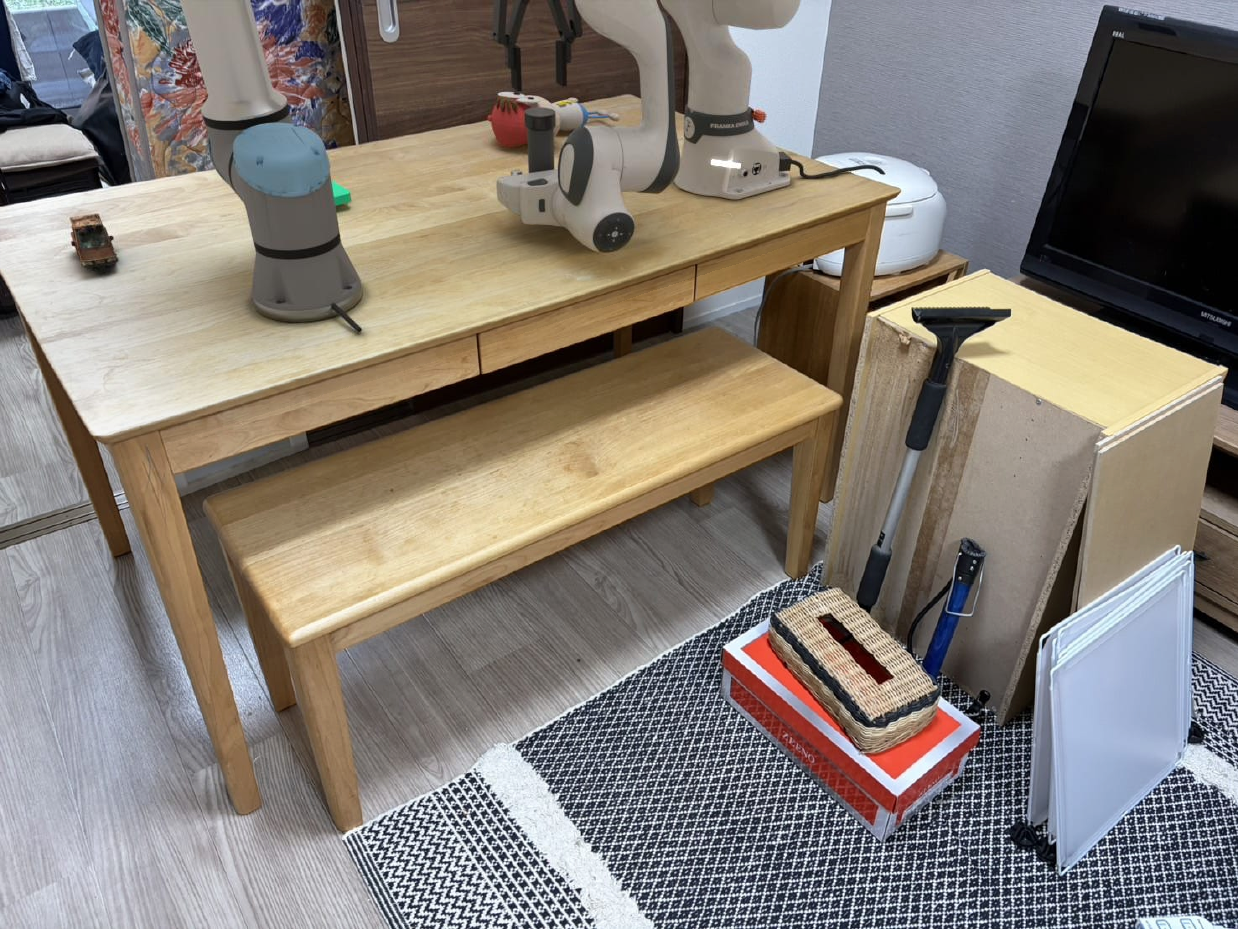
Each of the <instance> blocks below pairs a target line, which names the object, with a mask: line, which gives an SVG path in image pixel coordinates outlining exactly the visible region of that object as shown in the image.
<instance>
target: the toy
mask: <svg viewBox="0 0 1238 929" xmlns="http://www.w3.org/2000/svg"><path fill="white" fill-rule="evenodd" d="M497 96H498V97H497V99H496V104H494V107H493V109H492V112H491V114H489V115H487V121H488V122H490V125H491V129H492V132H493V135H494V137H495V139H496V141H497V142H498V144H499V145H500V146H501V147H504V148H514V147H516V148H517V147H520V146H523V145H526V144H527V145H528V139H527V127H526V126H525V113H524V112H525V110H527V109H530V108H536V107H544V108H550V109H553V110H555V112H556V126H555V127H554V138H555V137H556V136H557V135H558V133H559V131H562V132H569V131H570V132H573V131H574V130H575V129H576V128H578V127H580V126H586V124H587V123H588V121H589V119H605V118H606V119H607V118H608V119H609V120H610V121H613V122H615V123H617V122H619V121H620V119H621V118H620V115H619V114H618V113H615V112H611V113H608V111H607V110H606V109H597V111H588V110H587V109H586V107H584V105H582V104H581V103H579V99H577V97H569V98H568V99H563V100H559V101H555V102H551V100H549V99H548V98H544V97H541V96H539V95H531V94H529V95H525V94H523V93H520V92H513V91H502V92H501V91H500V92H498V93H497Z"/></svg>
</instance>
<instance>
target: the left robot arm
mask: <svg viewBox="0 0 1238 929" xmlns="http://www.w3.org/2000/svg"><path fill="white" fill-rule="evenodd" d="M530 1H531V0H513V3H512V7H511V11H510V14H509V18H508V21H507V15H508V14H507V12H508V0H494V1H493V16H492V32H491V33H492V35H491V39H492V41H494V42H495V43H497V44H498V45H502V46H503V47H504V48H503V49H504V65H505V67H506V68H507V69H509V70H510V80H511V84H510V85H511V88H512V89H514V90H515V92H523V81H522V78H523V77H522V55H521V54H522V53H521V47H520V46H518V45H517V42H518V38H519V35H520V31H521V28H522V24H523V21H524V18H525V13H526V10H527V7H528V4H529V3H530ZM179 2H180V6H181V9H182V13H183V16H184V19H185V23H186V26H187V29H188V33H189V36H190V39H191V43H192V46H193V49H194V53H195V56H196V59H197V62H198V66H199V69H200V72H201V76H202V79H203V82H204V86H205V89H206V92H207V99H206V100H205V102H203V105H202V107H201V108H200V112H201V115H202V116H201V117H202V119H203V121H204V125H205V129H206V131H207V150H208V155H209V159H210V162H211V163H212V167H213V168H214V170H215V171H216V173H217V174H218V175H219V177H220V178H221V179H222V180H223V181H224V182H225V183H226V184H227V185H228V186H229V187H230V188H231V190H232V191H234V193H235V194H236V196H237V197H238V198H239V199H240V200H241V202H242V203H243V206H244V208H245V211H246V215H247V219H248V220H247V221H248V223H249V228H250V233H251V237H252V242H253V247H254V251H255V258H254V264H253V273H252V283H251V291H250V294H251V299H252V303H253V307H254V309H255V310H256V311H257V313H259V314H260V315H262V316H264V317H266V318H268V319H271V320H275V321H281V322H289V323H304V322H314V321H315V322H316V321H320V320H326V319H330V318H332V317H336V316H338V315H339V317H341V318H342V319H343V320H344V321H345V322H346V323H347V324H348V325H349V326H350V327H351V328H352V329H353V330H355V332H356V333H358V334H360V333H362V332H363V328H362V327H361V325H359V324H358V323H356V321H355V320H354V319H352V317H350V316H349V315H348V314H347V313H346V312H348V311H349V310H351V309H353V308H354V307H355V306H356V305H357V304H358V303H359V302H360V301H361V298H362V297H363V287H362V282H361V278H360V276H359V274H358V272H357V270H356V268H355V266H354V264H353V263H352V261H351V259H350V257H349V255H348V253H347V251H346V250H345V248H344V245H343V243H342V239H341V233H340V225H339V220H338V214H337V207H336V206H335V200H334V194H333V188H332V182H331V181H332V177H331V162H330V158H329V156H328V153H327V150H326V146H325V144H324V143H325V142H324V141H323V139H322V138H321V137H320V135H318V133H317V132H315V131H313V130H311V129H310V128H308V127H305V126H302V125H298V126H297V125H296V124H295V123H294V122H293V118H292V114H291V110H290V106H289V102H288V99H287V97H286V95H284V94H282V93H281V92H280V91H278V90H276V89H275V88H274V87H273V84H272V80H271V76H270V72H269V68H268V65H267V60H266V57H265V52H264V48H263V45H262V41H261V37H260V33H259V30H258V25H257V21H256V18H255V13H254V10H253V5H252V3H251V0H179ZM546 2H547V5H548V7H549V10H550V13H551V16H552V18H553V21H554V24H555V27H556V30H557V33H558V36H559V38H560V39H558V40H557V39H556V40H555V83H556V84H558V85H559V86H561V87H562V88H563V87H567V86H568V70H567V69H568V68H567V67H568V66H567V65H568V64H571V62H572V44H574V42H575V40H576V39H577V38H582V36H583V32H584V31H583V23H582V22H583V21H582V16H581V15H580V13H579V11H578V9H577V7H576V4H575V0H565V2H566V10H567V17H566V15H565V11H564V9H563V5H562V2H561V0H546ZM567 18H568V20H567Z"/></svg>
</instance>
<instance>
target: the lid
mask: <svg viewBox="0 0 1238 929" xmlns="http://www.w3.org/2000/svg"><path fill="white" fill-rule="evenodd" d="M524 113H525V126H526V127H527V128H529V129H533V130H549V129H552V128H554V127H555V126H556V112H555V110H553V109H550V108H544V107H536V108H530V109H527V110H525V112H524Z"/></svg>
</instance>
